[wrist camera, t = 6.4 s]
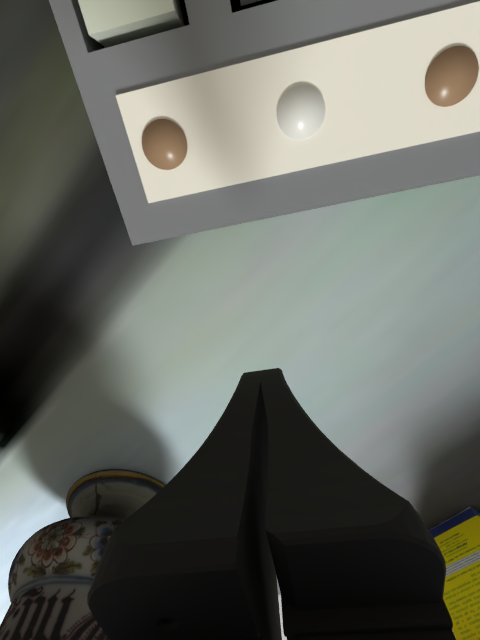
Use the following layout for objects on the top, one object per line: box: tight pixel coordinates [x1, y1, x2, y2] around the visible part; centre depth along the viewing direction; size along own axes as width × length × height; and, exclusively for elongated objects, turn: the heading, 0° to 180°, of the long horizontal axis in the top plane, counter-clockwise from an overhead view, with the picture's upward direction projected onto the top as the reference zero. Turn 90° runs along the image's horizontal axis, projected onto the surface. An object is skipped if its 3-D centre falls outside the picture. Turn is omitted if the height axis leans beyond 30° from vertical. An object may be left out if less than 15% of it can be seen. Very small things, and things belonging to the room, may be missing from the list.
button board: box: [49, 0, 480, 246], centre depth 14 cm, size 18×14×2 cm
